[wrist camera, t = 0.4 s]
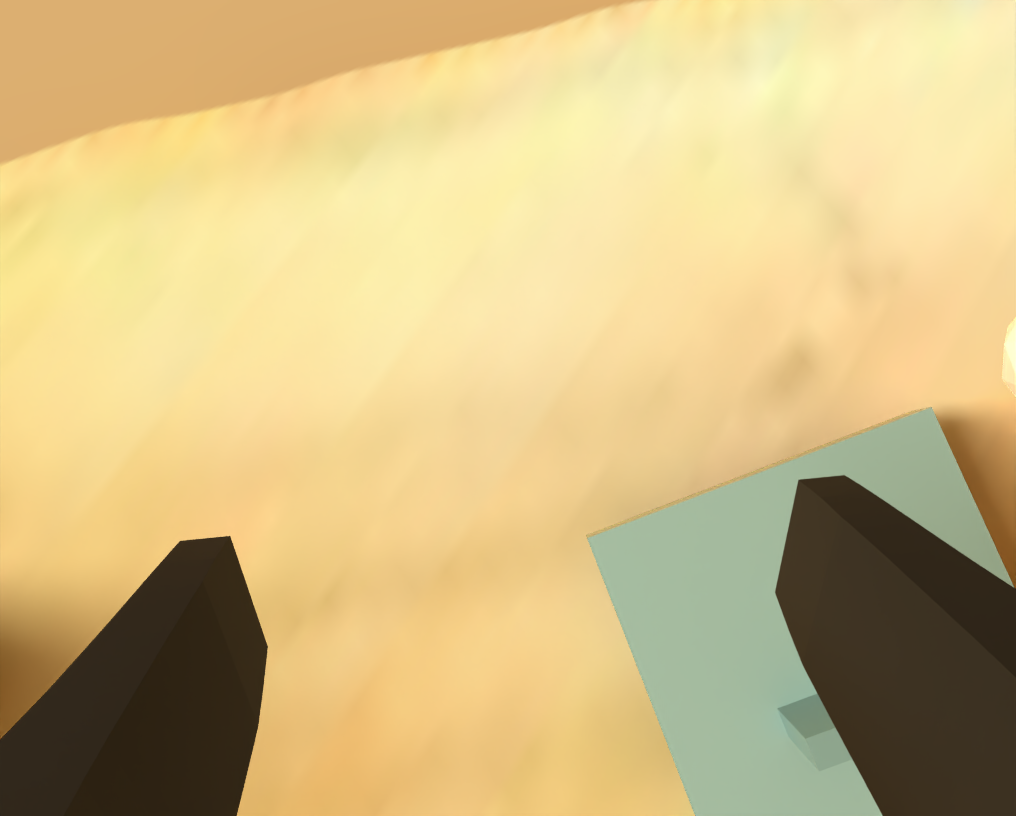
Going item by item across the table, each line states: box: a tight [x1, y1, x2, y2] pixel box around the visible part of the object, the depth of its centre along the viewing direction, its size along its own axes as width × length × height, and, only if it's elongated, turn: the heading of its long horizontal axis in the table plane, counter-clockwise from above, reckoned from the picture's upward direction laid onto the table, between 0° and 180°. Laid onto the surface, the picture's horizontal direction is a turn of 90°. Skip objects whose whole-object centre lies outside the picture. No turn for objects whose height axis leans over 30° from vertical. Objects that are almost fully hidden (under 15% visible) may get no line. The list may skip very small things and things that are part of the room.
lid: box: [586, 407, 1014, 816], centre depth 29 cm, size 19×15×5 cm
